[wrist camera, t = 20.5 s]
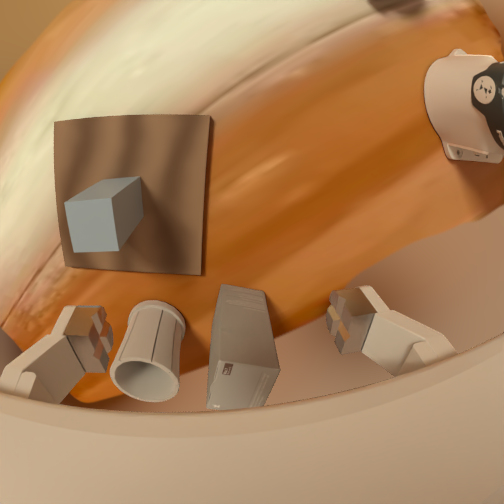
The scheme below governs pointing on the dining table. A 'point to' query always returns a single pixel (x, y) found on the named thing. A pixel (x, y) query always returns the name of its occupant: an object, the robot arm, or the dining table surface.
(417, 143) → the dining table surface
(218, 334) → the skincare box
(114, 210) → the tall grey rectangular prism
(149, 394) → the cup
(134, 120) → the walnut base
